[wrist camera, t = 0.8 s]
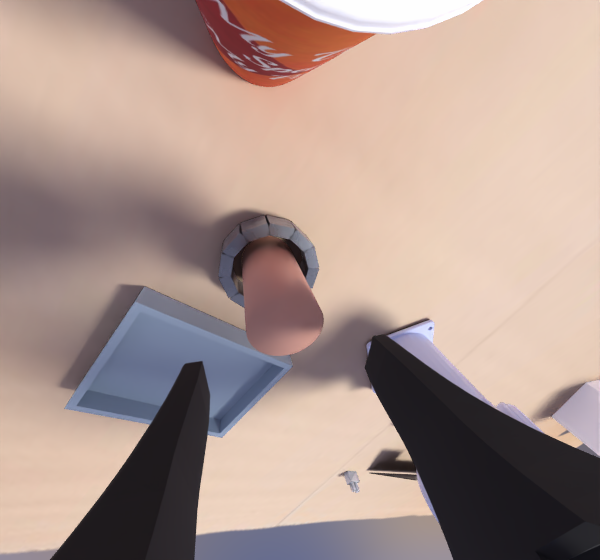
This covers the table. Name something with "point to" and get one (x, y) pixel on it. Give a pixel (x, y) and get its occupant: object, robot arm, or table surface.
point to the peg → (277, 299)
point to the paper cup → (309, 30)
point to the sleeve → (258, 230)
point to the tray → (175, 364)
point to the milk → (583, 415)
